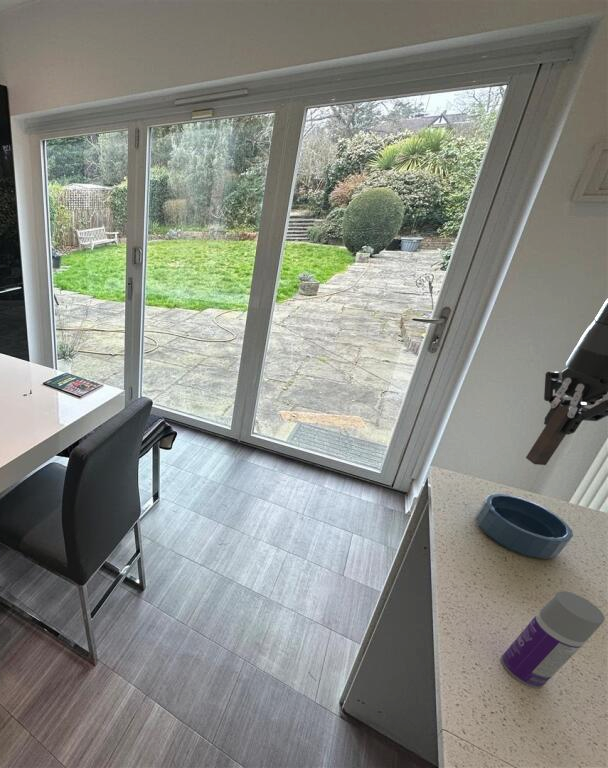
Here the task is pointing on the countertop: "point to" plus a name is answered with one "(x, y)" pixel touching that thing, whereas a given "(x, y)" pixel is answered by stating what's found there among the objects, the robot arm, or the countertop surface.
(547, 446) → the stirring stick
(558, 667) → the container
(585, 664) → the countertop surface
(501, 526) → the bowl
